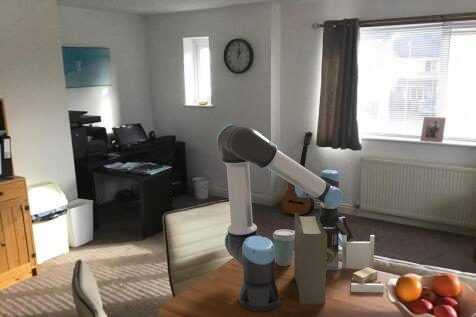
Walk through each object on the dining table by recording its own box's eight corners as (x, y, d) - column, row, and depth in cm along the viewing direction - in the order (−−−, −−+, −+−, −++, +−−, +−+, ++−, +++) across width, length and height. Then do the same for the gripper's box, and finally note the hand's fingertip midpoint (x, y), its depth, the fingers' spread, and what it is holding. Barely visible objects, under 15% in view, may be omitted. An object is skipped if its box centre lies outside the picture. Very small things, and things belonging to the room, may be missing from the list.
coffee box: (338, 261, 183) (339, 226, 180) (338, 267, 177) (339, 232, 174) (317, 259, 185) (317, 225, 182) (316, 266, 179) (317, 230, 176)
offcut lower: (356, 291, 159) (356, 284, 159) (350, 285, 164) (351, 278, 163) (380, 288, 161) (380, 281, 160) (374, 282, 165) (374, 275, 165)
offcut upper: (362, 284, 158) (362, 277, 158) (353, 279, 162) (353, 273, 162) (377, 277, 163) (377, 271, 163) (367, 273, 167) (368, 266, 167)
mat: (317, 269, 176) (317, 268, 176) (315, 259, 186) (315, 258, 186) (341, 270, 176) (341, 269, 175) (338, 260, 185) (338, 258, 185)
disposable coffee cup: (269, 260, 187) (268, 228, 184) (290, 256, 190) (290, 225, 187) (278, 270, 177) (278, 237, 174) (300, 266, 180) (301, 234, 177)
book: (325, 305, 150) (327, 234, 144) (299, 305, 150) (300, 234, 144) (316, 276, 171) (318, 212, 165) (294, 276, 171) (294, 212, 165)
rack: (350, 291, 158) (351, 255, 155) (341, 267, 178) (342, 234, 175) (384, 292, 157) (386, 255, 154) (372, 268, 177) (373, 235, 174)
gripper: (300, 208, 173) (300, 255, 177) (361, 209, 171) (359, 256, 175) (299, 203, 180) (299, 248, 185) (357, 203, 178) (356, 249, 182)
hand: (328, 252), depth 180 cm, fingers open, 13 cm apart
